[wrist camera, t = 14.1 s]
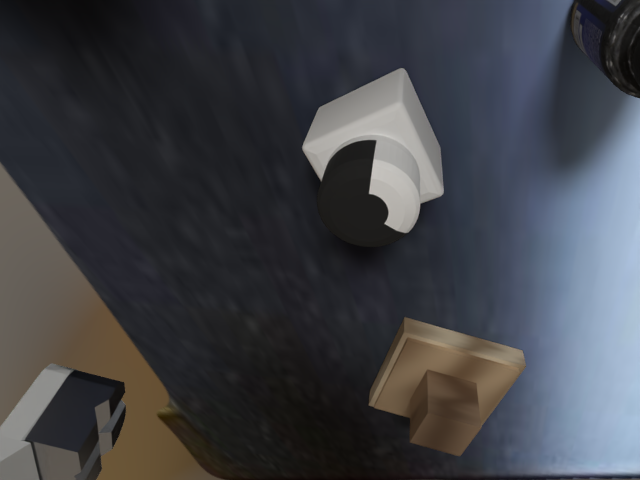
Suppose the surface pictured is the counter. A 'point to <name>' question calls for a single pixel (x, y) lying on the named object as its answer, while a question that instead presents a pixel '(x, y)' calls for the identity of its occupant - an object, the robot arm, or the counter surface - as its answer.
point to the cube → (444, 413)
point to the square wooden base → (443, 366)
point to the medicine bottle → (374, 161)
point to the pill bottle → (610, 39)
